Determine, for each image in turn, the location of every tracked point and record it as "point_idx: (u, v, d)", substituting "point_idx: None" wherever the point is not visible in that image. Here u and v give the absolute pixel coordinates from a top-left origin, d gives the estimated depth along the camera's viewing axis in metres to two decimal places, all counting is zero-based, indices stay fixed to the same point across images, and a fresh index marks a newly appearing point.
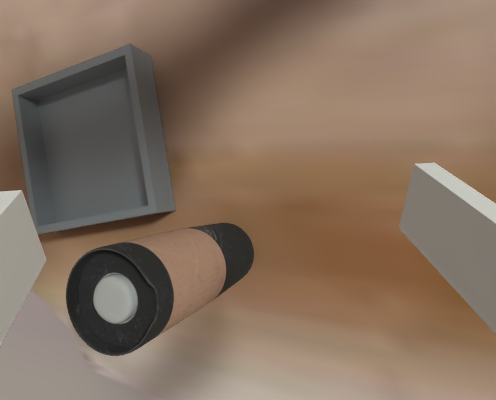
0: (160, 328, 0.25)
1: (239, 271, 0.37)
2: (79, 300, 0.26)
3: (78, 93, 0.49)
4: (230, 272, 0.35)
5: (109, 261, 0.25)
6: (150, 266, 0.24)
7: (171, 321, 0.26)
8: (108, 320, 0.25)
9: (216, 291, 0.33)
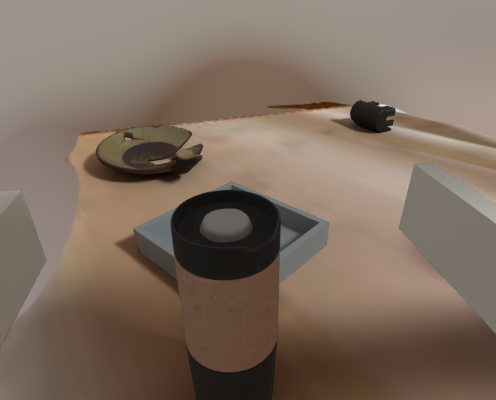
0: (229, 269, 0.22)
1: (248, 399, 0.29)
2: (196, 208, 0.27)
3: None
4: (255, 374, 0.28)
5: (250, 210, 0.26)
6: (280, 233, 0.24)
7: (230, 286, 0.22)
8: (206, 225, 0.24)
9: (239, 359, 0.26)
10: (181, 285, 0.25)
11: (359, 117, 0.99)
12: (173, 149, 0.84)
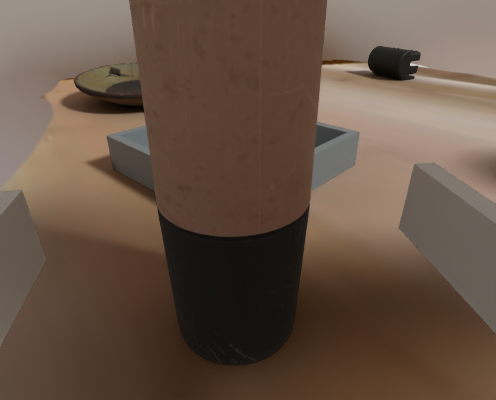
0: None
1: (261, 300, 0.17)
2: None
3: None
4: (274, 250, 0.16)
5: None
6: None
7: (236, 5, 0.11)
8: None
9: (248, 208, 0.14)
10: (141, 49, 0.13)
11: (378, 63, 0.87)
12: None
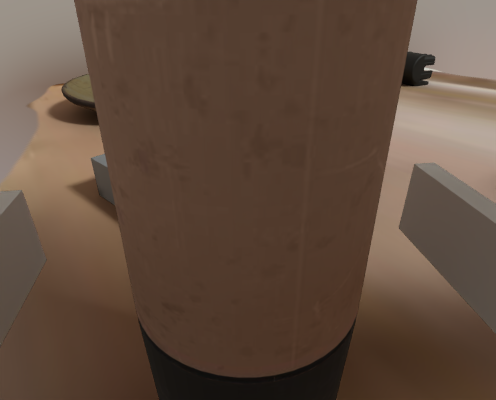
0: None
1: None
2: None
3: None
4: (312, 385, 0.10)
5: None
6: None
7: (270, 16, 0.05)
8: None
9: (277, 341, 0.09)
10: (95, 89, 0.07)
11: None
12: None
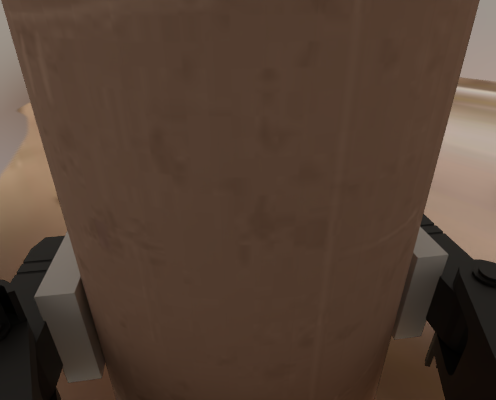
0: None
1: None
2: None
3: None
4: None
5: None
6: None
7: (279, 43, 0.03)
8: None
9: None
10: (40, 132, 0.06)
11: None
12: None
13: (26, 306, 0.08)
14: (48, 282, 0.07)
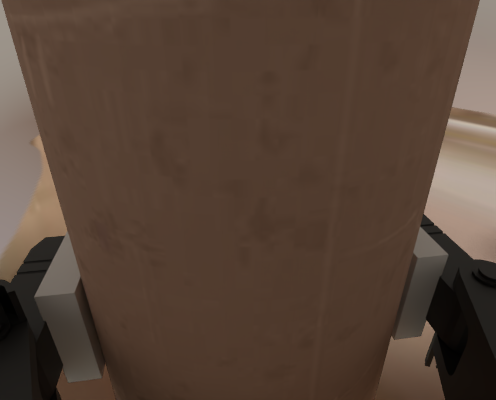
0: None
1: None
2: None
3: None
4: None
5: None
6: None
7: (279, 47, 0.03)
8: None
9: None
10: (40, 133, 0.06)
11: None
12: None
13: (26, 306, 0.08)
14: (48, 282, 0.07)
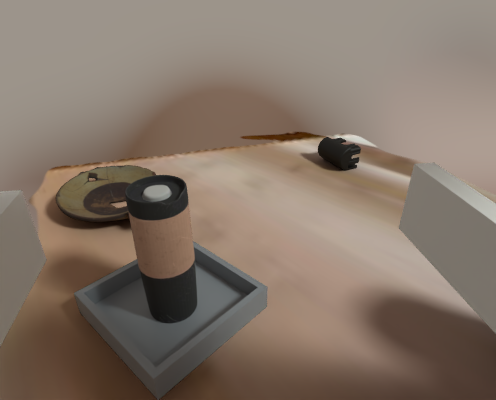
0: (154, 214, 0.42)
1: (176, 298, 0.49)
2: (142, 185, 0.47)
3: (206, 274, 0.60)
4: (178, 282, 0.48)
5: (173, 186, 0.47)
6: (185, 197, 0.44)
7: (156, 224, 0.43)
8: (145, 193, 0.44)
9: (166, 270, 0.46)
10: (132, 226, 0.45)
11: (326, 154, 1.00)
12: None
13: None
14: None
